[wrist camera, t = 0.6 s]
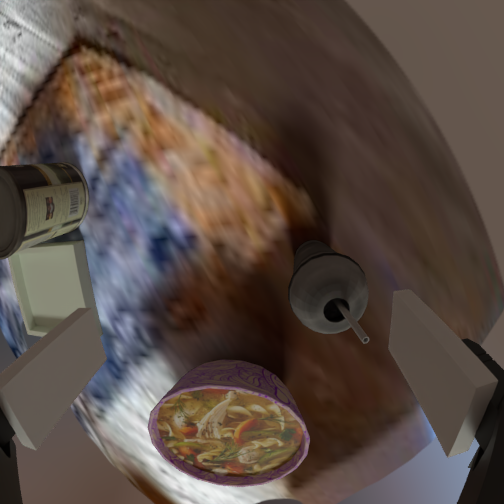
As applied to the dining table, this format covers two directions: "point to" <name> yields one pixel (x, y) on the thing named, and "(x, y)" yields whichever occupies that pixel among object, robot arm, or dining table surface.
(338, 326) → the beverage cup
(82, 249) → the tray
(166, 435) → the bowl of food
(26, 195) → the coffee can
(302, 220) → the dining table surface
